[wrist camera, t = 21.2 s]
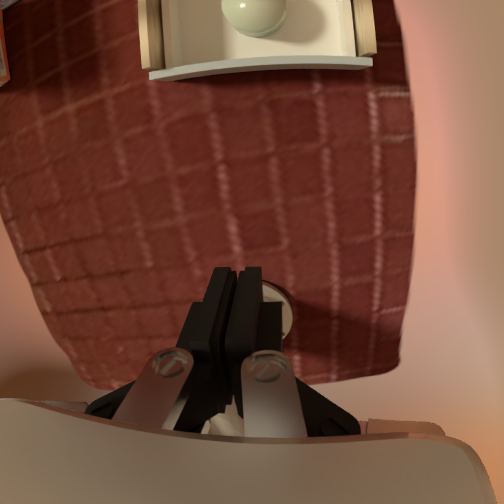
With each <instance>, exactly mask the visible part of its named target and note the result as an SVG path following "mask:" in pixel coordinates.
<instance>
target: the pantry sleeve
mask: <svg viewBox="0 0 504 504" xmlns="http://www.w3.org/2000/svg"><path fill="white" fill-rule="evenodd" d="M350 2H351V11H352V20H353V30H354V41H355V53H356V57H368V56H371V55H373V54H376V53H377V48H376V37H375V26H374V17H373V8H372V0H350ZM138 14H139V32H140V47H141V60H142V69H148V70H155V71H158V70H163V69H166V62H165V50H164V37H163V22H162V4H161V0H138Z"/></svg>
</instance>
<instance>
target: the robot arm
mask: <svg viewBox="0 0 504 504" xmlns="http://www.w3.org/2000/svg"><path fill="white" fill-rule="evenodd" d="M292 321H293V313H292V308H291V305H290V303H289V301H288V299H287V298H286V296H285V295H284V294H283V293H282V292H281V291H280V290H278V289H277V288H276V287H274V286H272V285H271V284H269V283H266V282H263V281H262V271H261V267H246V268H245V271H240V273H239V277H238V279H237V273H236V271H231V268H230V267H215V268H214V271H213V274H212V276H211V279H210V282H209V285H208V288H207V290H206V293H205V296H204V299H203V302H193V304H192V305H191V308H190V310H189V313H188V316H187V318H186V321H185V323H184V326H183V329H182V331H181V334H180V336H179V339H178V342H177V344H176V347H175V348H174V347H172V348H166V349H163V350H160V351H158V352H157V353H155V354H154V355H153V356H152V357H151V358H150V359H149V361H148V362H147V364H146V365H145V367H144V369H143V370H142V372H141V373H140V375H139V376H138V378H137V380H135V381H133V382H131V383H129V384H127V385H125V386H123V387H121V388H119V389H117V390H115V391H113V392H111V393H109V394H107V395H105V396H103V397H101V398H99V399H97V400H95V401H93V402H92V403H91V404H90V405H88V404H87V402H65V401H64V402H63V401H39V402H36V401H31V400H25V399H16V398H3V399H0V504H497V502H496V498H495V494H494V491H493V488H492V485H491V482H490V479H489V476H488V474H487V471H486V469H485V467H484V465H483V463H482V461H481V459H480V457H479V456H478V454H477V453H476V452H475V451H474V449H473V448H472V447H471V446H469V445H468V444H466V443H465V442H463V441H461V440H458V439H455V438H452V437H448V436H445V433H444V431H443V430H442V428H441V427H439V426H438V425H436V424H434V423H430V422H414V421H395V420H381V419H370V418H369V419H368V422H367V421H357V419H356V418H354V417H353V416H352V415H351V414H349V413H348V412H346V411H345V410H343V409H342V408H340V407H339V406H337V405H336V404H334V403H333V402H331V401H329V400H328V399H327V398H325V397H324V396H322V395H321V394H319V393H318V392H317V391H315V390H314V389H312V388H310V387H309V386H308V385H306V384H305V383H303V382H302V381H301V380H299V379H298V378H296V377H295V375H294V370H293V366H292V363H291V361H290V359H289V358H288V357H287V356H286V355H285V354H283V353H282V345H283V339H284V338H285V337H286V336H287V334H288V333H289V331H290V329H291V326H292Z"/></svg>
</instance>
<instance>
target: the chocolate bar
mask: <svg viewBox="0 0 504 504" xmlns="http://www.w3.org/2000/svg"><path fill="white" fill-rule="evenodd" d="M19 1H21V0H0V9H2V13H3V12H4V11H5V10H7V9H8V8H10V7H12V6H13V5H15V4H16V3H18V2H19Z"/></svg>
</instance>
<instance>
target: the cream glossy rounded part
mask: <svg viewBox="0 0 504 504" xmlns="http://www.w3.org/2000/svg"><path fill="white" fill-rule="evenodd" d="M222 10H223V13H224V15H225V17H226V18H227V20H228V21H229V22H230V23H231V25H232V26H233V27H234V28H235V30H237V31H238V32H239V33H241V34H243V35H245V36H248V37H253V38H260V37H266V36H269V35H271V34H273V33H274V32H276V31H277V30H278V29H279V28H280V27H281V26H282V24H283V22H284V20H285V12H286V0H222Z"/></svg>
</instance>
